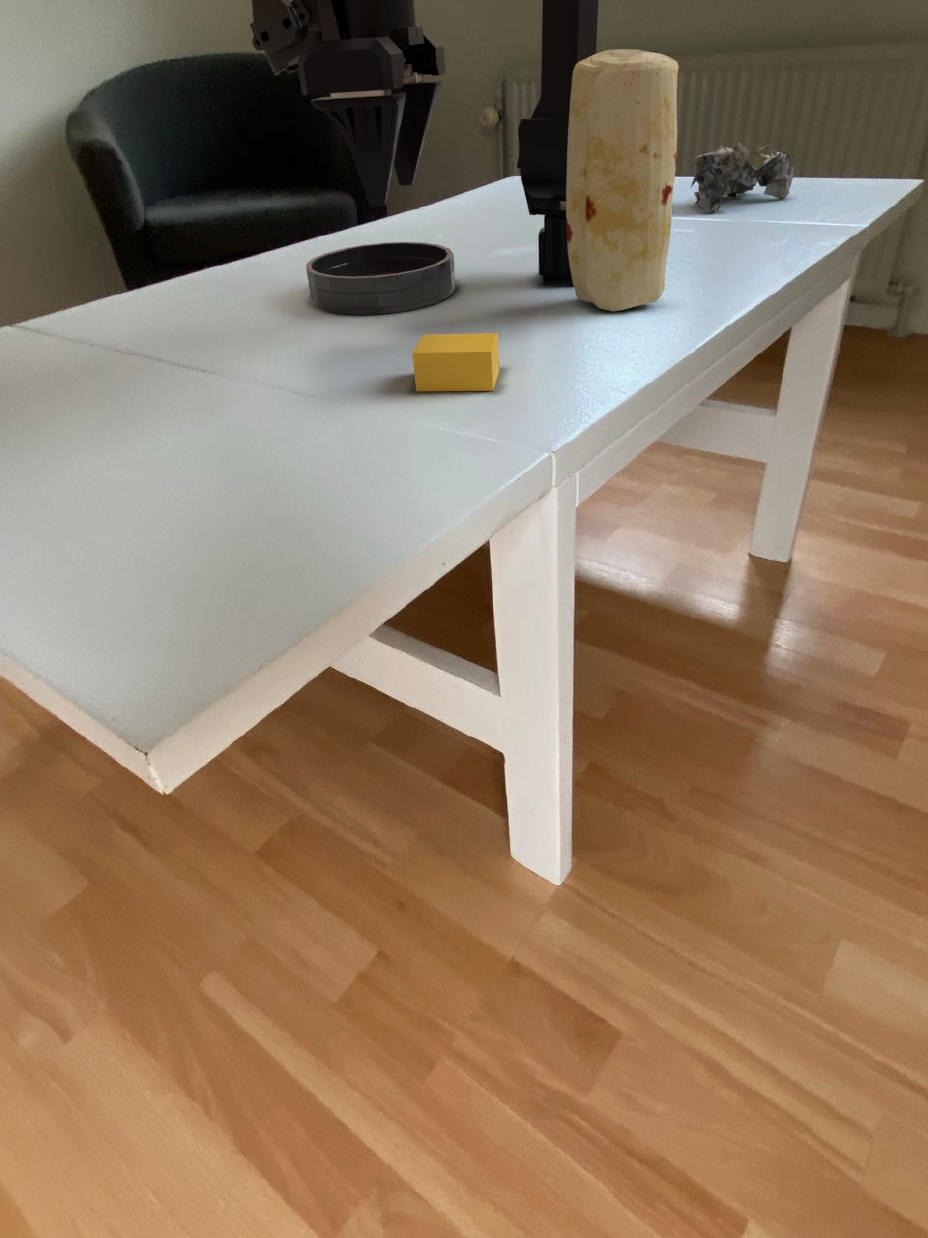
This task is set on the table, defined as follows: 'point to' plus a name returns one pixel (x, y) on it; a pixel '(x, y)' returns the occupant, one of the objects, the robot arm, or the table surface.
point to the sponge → (456, 362)
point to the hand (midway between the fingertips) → (392, 194)
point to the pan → (381, 278)
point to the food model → (621, 176)
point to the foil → (739, 175)
